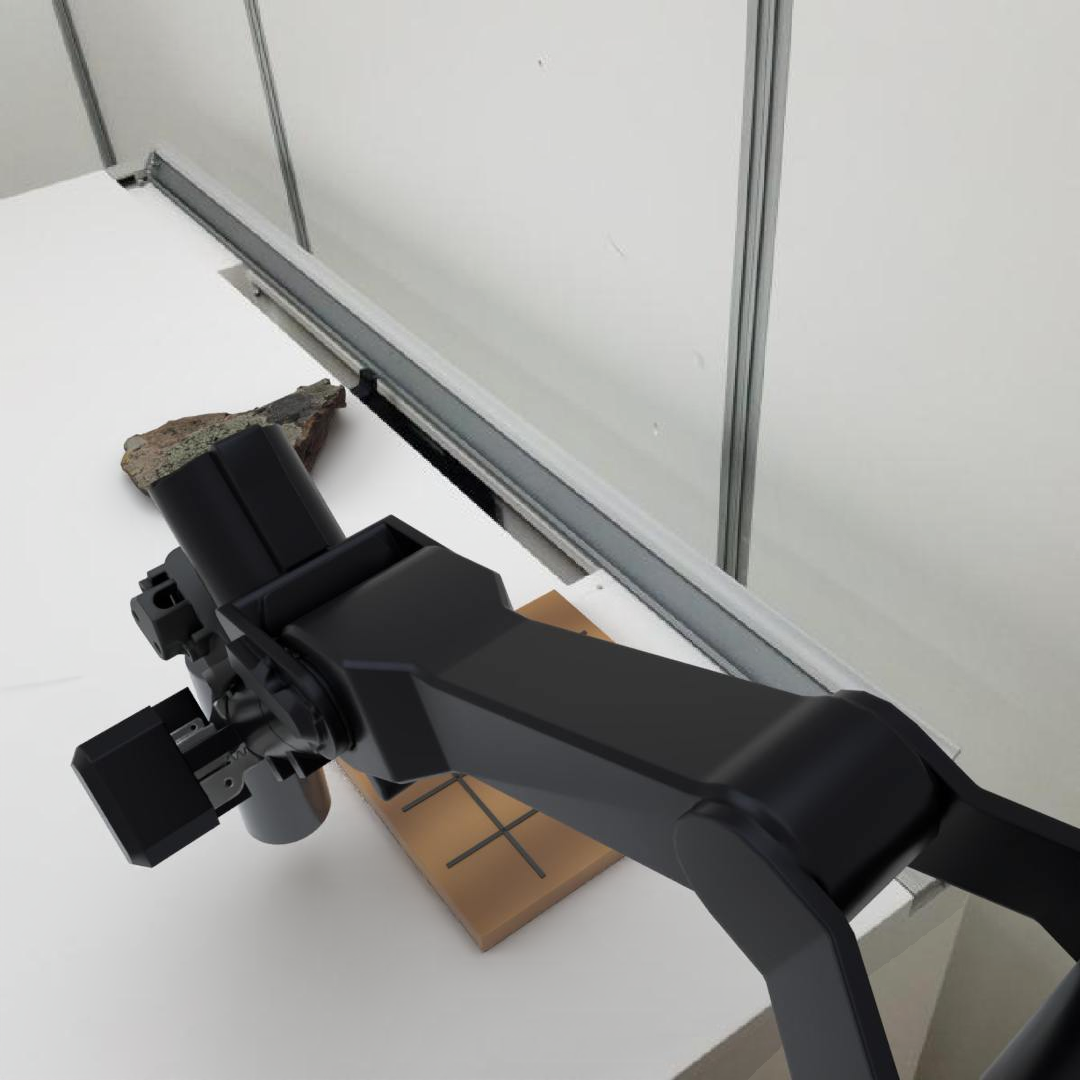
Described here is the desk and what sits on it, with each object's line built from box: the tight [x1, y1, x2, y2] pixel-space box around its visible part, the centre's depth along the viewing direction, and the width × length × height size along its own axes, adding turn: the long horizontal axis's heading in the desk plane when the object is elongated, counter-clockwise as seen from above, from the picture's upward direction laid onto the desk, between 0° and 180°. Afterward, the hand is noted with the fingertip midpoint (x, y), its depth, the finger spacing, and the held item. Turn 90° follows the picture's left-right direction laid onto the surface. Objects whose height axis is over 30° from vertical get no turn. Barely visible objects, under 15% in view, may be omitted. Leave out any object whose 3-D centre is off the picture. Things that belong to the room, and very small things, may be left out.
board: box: [334, 589, 626, 953], centre depth 74 cm, size 20×20×2 cm
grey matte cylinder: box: [184, 655, 332, 846], centre depth 61 cm, size 5×5×13 cm
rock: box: [120, 377, 348, 498], centre depth 99 cm, size 20×17×5 cm
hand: (250, 716), depth 62 cm, fingers closed on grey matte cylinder, 5 cm apart
